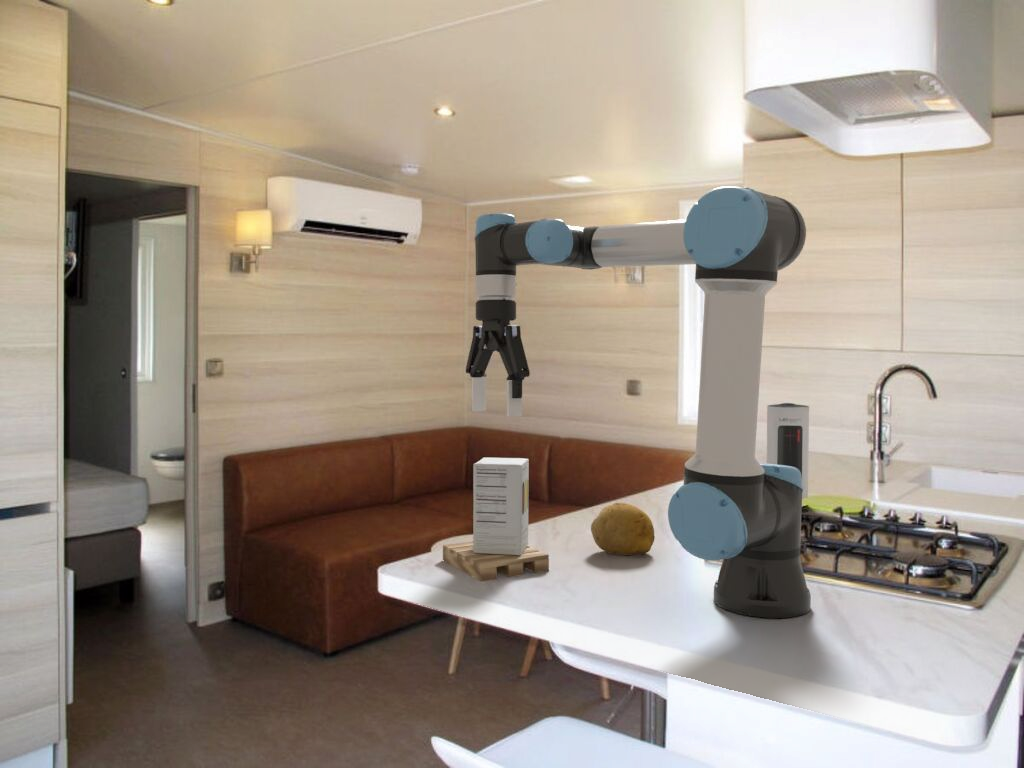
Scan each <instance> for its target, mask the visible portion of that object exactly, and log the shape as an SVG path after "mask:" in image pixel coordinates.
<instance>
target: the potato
mask: <svg viewBox="0 0 1024 768" xmlns="http://www.w3.org/2000/svg"><path fill="white" fill-rule="evenodd" d="M590 531H591V534H592V538H593V541H594V542H595V544H596V546H597V547H598V548H600V549H601V550H602V551H604V552H607V553H608V554H611V555H623V556H631V555H638V554H643V555H644V554H647V553H649V552H650V551H651V549H652V546H653V545H654V542H655V538H656V537H655V528H654V524H653V521H652V519H651V518H650V517H649V515H648V514H647V513H646V512H644V511H643V510H642V509H641V508H639V507H637V506H636V505H633V504H631V503H625V502H624V503H623V502H616V503H612V504H610V505H607V506H605V507H603V508H602V509H601V511H599V513H598V515H597V516H596V517H595V518H594V519H593V521H592V523H591V525H590Z"/></svg>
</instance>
